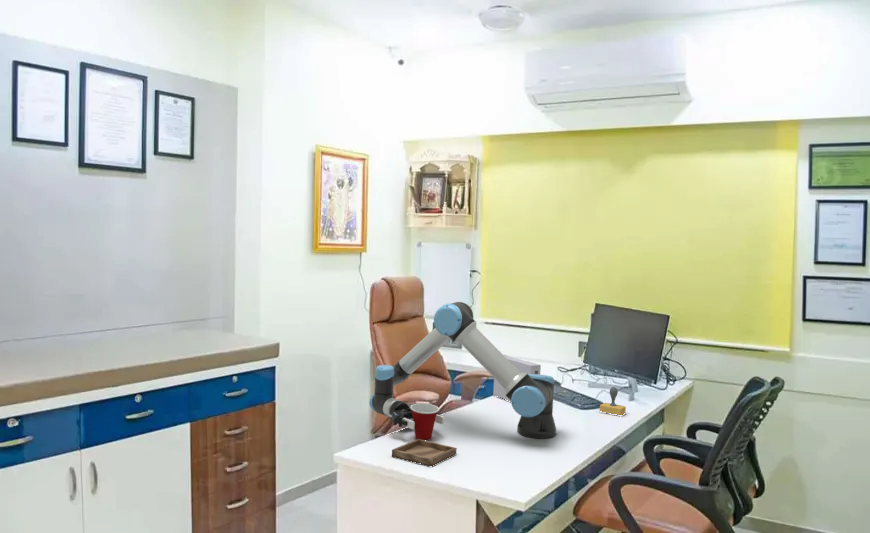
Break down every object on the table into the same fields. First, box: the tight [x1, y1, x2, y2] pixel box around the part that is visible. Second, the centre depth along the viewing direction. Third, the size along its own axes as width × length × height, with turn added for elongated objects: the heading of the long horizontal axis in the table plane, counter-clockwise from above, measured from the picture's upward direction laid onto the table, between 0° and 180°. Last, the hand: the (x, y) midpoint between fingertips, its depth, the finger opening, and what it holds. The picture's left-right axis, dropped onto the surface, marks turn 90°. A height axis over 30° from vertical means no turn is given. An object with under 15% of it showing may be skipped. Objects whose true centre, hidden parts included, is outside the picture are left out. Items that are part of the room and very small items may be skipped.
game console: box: [492, 354, 542, 403], centre depth 308 cm, size 6×27×20 cm, turn 31°
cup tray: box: [391, 439, 458, 467], centre depth 227 cm, size 16×16×2 cm
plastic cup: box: [409, 402, 440, 441], centre depth 246 cm, size 11×11×12 cm
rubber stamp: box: [599, 386, 627, 416], centre depth 294 cm, size 10×6×12 cm, turn 55°
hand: (428, 423), depth 243 cm, fingers open, 13 cm apart
